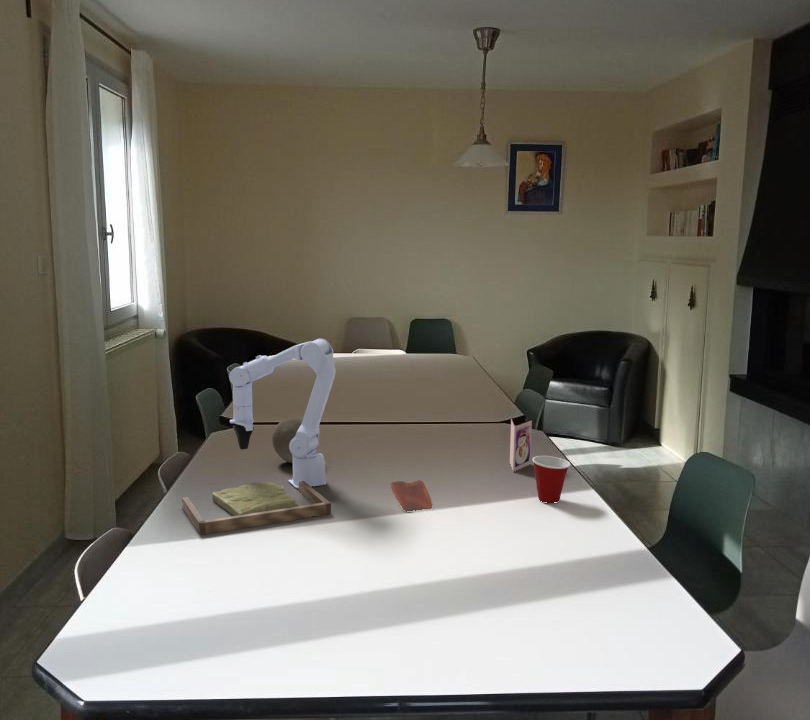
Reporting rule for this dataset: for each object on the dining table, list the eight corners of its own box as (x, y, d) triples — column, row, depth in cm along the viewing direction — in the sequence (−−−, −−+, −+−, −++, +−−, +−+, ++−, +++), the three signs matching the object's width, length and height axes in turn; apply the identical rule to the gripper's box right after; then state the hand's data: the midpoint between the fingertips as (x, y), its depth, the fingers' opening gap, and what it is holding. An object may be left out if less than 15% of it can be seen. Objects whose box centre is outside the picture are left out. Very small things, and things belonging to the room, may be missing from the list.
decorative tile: (239, 523, 204) (239, 510, 203) (211, 501, 220) (211, 489, 220) (303, 509, 214) (303, 497, 214) (271, 490, 231) (271, 478, 230)
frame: (303, 490, 229) (303, 480, 228) (330, 513, 210) (330, 503, 210) (182, 508, 213) (182, 497, 213) (200, 535, 194) (199, 523, 194)
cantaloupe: (319, 458, 263) (318, 414, 260) (310, 470, 249) (309, 424, 247) (278, 456, 264) (277, 413, 262) (266, 468, 250) (266, 423, 248)
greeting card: (515, 472, 249) (517, 427, 246) (495, 468, 253) (496, 423, 251) (532, 464, 258) (534, 420, 255) (512, 460, 262) (514, 417, 260)
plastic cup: (569, 508, 216) (571, 466, 215) (529, 505, 219) (531, 464, 217) (569, 496, 227) (570, 456, 225) (531, 493, 229) (532, 453, 227)
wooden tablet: (389, 485, 237) (389, 479, 237) (422, 483, 239) (422, 478, 238) (399, 515, 211) (399, 509, 211) (436, 514, 213) (436, 508, 212)
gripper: (223, 401, 241) (224, 444, 243) (236, 411, 228) (237, 456, 230) (246, 399, 244) (246, 441, 246) (259, 409, 231) (260, 453, 234)
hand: (243, 448), depth 239 cm, fingers closed
